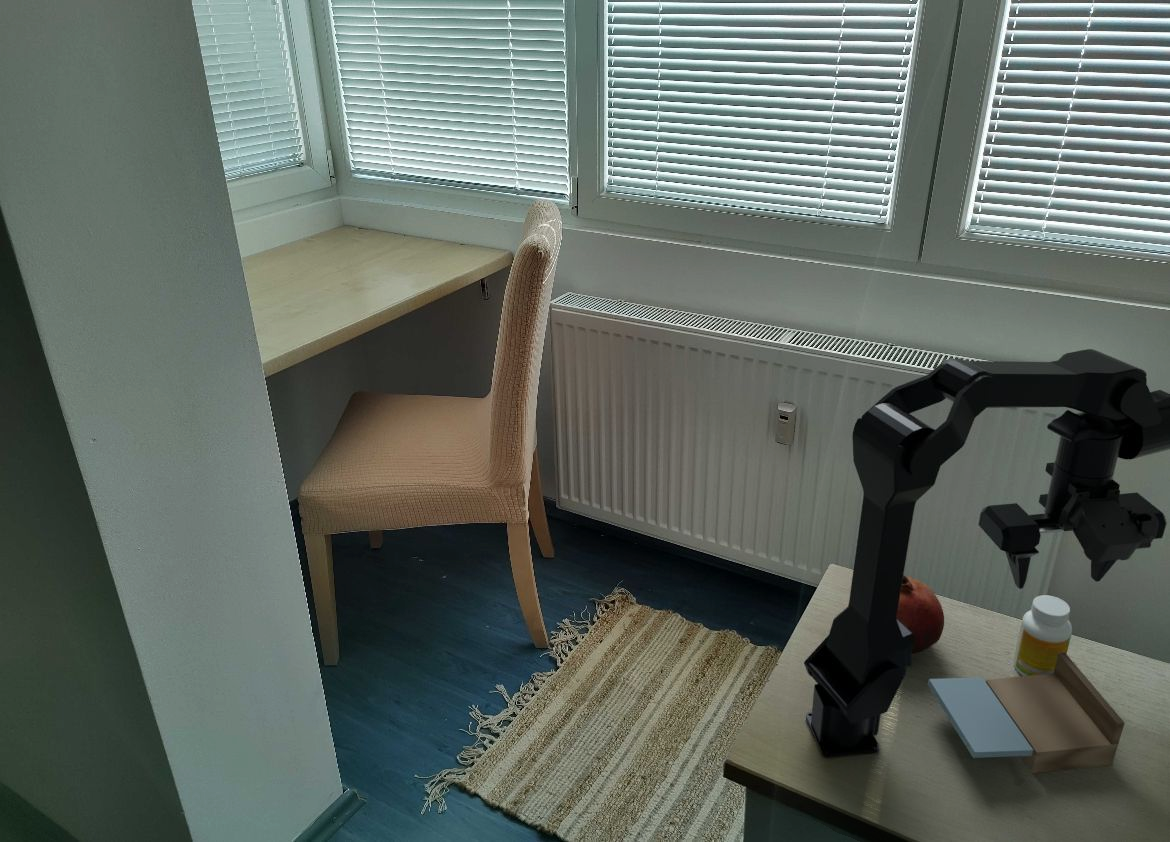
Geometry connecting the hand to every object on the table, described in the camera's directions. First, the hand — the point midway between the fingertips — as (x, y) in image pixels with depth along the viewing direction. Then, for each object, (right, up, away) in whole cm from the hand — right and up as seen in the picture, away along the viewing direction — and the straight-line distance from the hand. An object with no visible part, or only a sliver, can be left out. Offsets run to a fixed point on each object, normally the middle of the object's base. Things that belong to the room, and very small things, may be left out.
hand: (1057, 583), depth 105 cm
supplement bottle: (+1, -12, +6) cm, 13 cm away
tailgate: (-8, -14, -5) cm, 17 cm away
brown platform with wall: (-3, -16, -3) cm, 17 cm away
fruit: (-15, -10, +11) cm, 21 cm away
